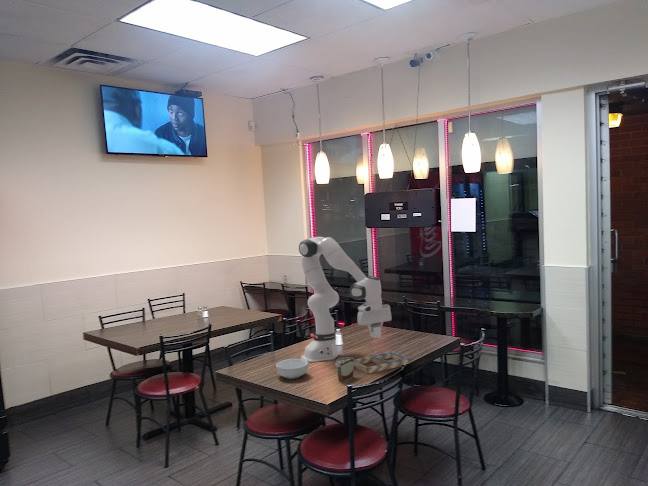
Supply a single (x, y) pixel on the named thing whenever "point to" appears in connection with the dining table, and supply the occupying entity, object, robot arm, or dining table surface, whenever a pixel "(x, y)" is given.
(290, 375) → the cereal bowl
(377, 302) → the robot arm
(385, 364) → the divider frame
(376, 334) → the plug block
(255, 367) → the dining table surface
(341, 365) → the food container
